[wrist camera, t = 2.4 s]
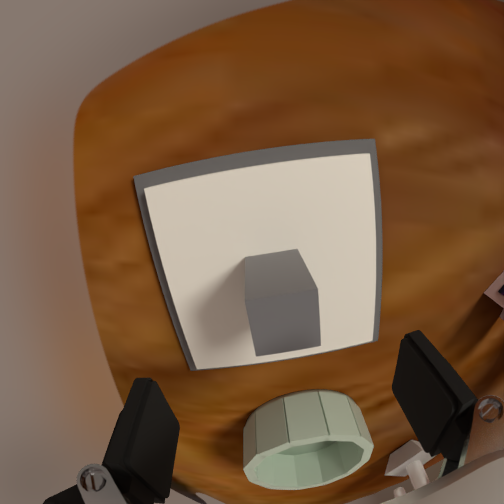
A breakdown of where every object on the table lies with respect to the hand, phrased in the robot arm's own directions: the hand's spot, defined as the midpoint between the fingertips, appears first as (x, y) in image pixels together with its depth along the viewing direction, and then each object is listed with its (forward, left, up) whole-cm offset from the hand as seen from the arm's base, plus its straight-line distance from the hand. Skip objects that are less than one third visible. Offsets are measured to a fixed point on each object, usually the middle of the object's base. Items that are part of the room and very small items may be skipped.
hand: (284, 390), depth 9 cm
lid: (-1, 0, -12) cm, 12 cm away
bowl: (-2, +20, -12) cm, 24 cm away
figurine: (-19, +36, -12) cm, 42 cm away
